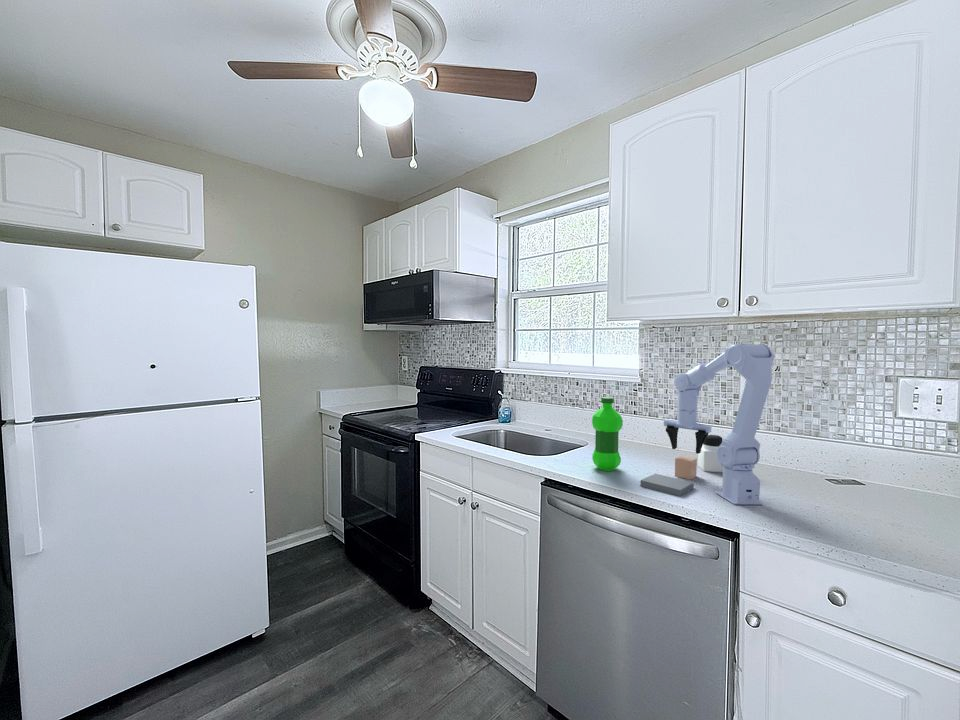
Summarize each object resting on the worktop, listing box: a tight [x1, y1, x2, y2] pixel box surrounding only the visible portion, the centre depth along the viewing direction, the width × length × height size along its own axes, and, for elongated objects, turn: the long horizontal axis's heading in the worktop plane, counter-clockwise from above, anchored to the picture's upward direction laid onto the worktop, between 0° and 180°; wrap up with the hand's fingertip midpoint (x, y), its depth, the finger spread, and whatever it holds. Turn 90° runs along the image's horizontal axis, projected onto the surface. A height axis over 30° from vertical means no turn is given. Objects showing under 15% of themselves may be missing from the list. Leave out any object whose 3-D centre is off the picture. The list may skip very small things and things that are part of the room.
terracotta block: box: [674, 455, 698, 481], centre depth 143 cm, size 5×5×6 cm
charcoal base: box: [640, 473, 695, 497], centre depth 132 cm, size 12×10×2 cm
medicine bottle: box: [697, 433, 723, 473], centre depth 151 cm, size 7×7×12 cm
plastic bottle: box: [591, 396, 624, 472], centre depth 151 cm, size 10×10×25 cm
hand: (686, 450), depth 143 cm, fingers open, 7 cm apart
